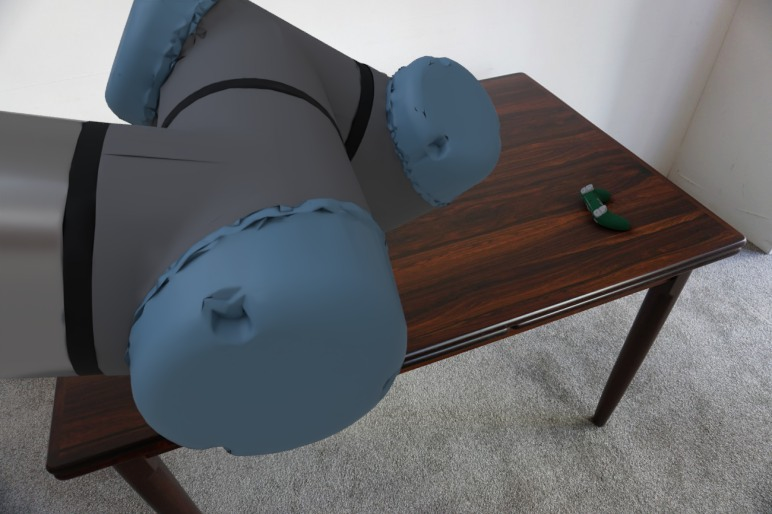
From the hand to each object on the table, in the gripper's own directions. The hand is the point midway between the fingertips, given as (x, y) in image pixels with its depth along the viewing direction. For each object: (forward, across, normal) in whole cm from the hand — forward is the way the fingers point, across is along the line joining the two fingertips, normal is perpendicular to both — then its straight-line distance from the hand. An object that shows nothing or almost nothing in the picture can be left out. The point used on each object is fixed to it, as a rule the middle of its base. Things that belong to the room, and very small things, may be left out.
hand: (218, 283), depth 55 cm
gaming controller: (-11, +50, -35) cm, 62 cm away
